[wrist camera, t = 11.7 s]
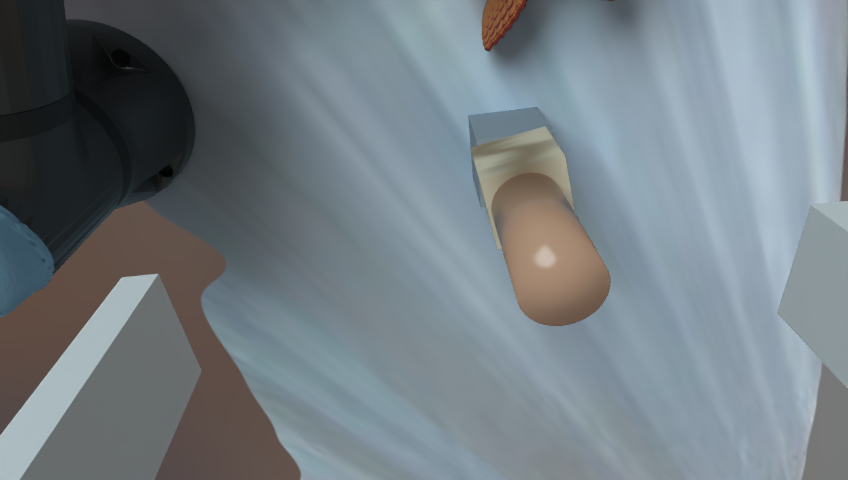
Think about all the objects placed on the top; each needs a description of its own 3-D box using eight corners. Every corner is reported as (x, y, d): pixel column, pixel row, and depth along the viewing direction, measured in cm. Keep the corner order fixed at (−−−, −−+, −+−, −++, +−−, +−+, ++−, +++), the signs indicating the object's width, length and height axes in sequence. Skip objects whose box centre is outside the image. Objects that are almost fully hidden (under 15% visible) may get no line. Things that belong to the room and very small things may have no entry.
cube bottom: (472, 177, 50) (480, 207, 45) (468, 115, 47) (476, 139, 42) (536, 169, 50) (552, 199, 45) (536, 106, 47) (553, 130, 42)
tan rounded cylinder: (492, 240, 40) (516, 329, 31) (490, 176, 37) (516, 255, 29) (562, 233, 40) (606, 321, 31) (565, 168, 37) (614, 245, 28)
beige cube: (487, 211, 45) (497, 249, 40) (470, 147, 42) (479, 179, 37) (557, 192, 45) (577, 228, 40) (545, 126, 42) (565, 156, 36)
